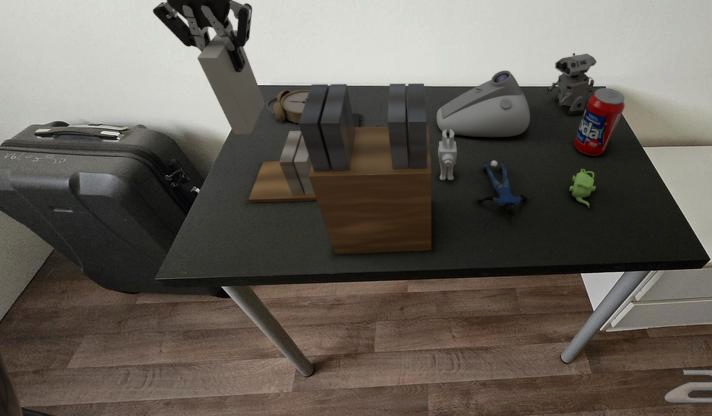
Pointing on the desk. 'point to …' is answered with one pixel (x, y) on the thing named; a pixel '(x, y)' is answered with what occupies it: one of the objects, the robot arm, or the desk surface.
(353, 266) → the desk surface
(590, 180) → the green kettle
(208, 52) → the gray rectangular block
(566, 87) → the figurine
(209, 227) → the desk surface
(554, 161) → the desk surface
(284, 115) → the alarm clock
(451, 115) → the projector
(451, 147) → the toy robot
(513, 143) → the desk surface
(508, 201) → the person figurine
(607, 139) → the soda can
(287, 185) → the wooden display stand
